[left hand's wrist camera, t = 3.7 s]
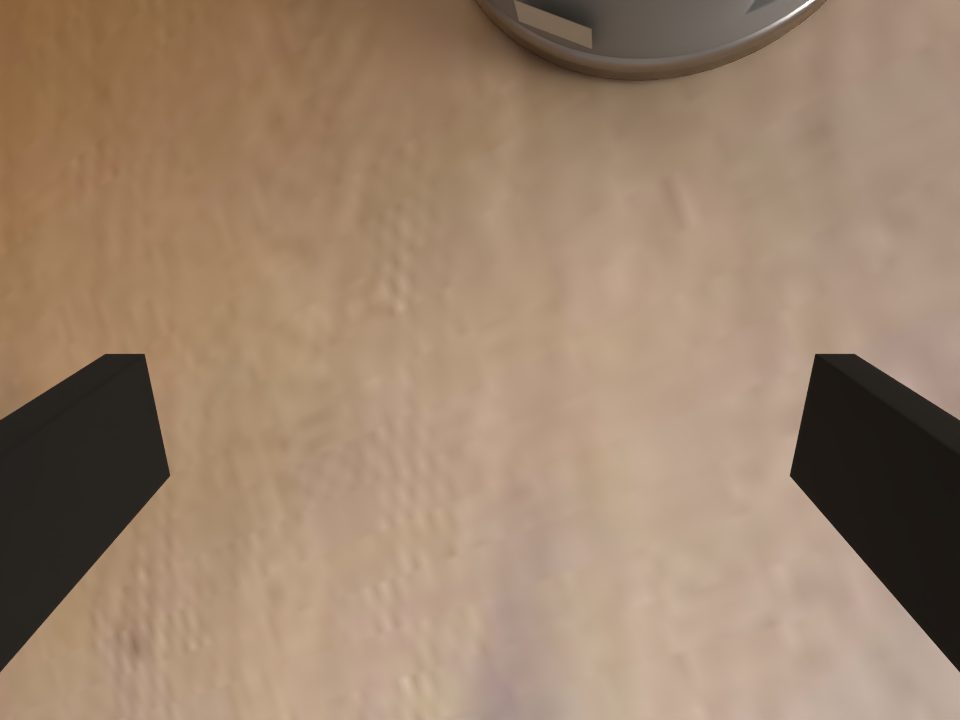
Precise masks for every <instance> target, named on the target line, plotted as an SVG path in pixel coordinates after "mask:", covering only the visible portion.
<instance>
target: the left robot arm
mask: <svg viewBox="0 0 960 720" xmlns="http://www.w3.org/2000/svg"><path fill="white" fill-rule="evenodd" d="M826 1H827V0H476V2H477V3H478V5H479V6H480V7H481V8H482V10H483V11H484V12H485V13H486V14H487V15H488V17H489V18H490V19H491V20H492V21H493V22H494V23H495V24H496V25H497V26H498V27H499V28H500V29H501V30H502V31H503V32H505V33H506V34H507V35H508V36H509V37H511V38H512V39H513V40H515V41H516V42H517V43H519V44H520V45H521V46H523V47H524V48H526V49H528V50H529V51H531V52H533V53H534V54H536V55H538V56H539V57H542V58H544V59H546V60H548V61H550V62H552V63H554V64H557V65H559V66H562V67H565V68H568V69H571V70H574V71H577V72H580V73H585V74H589V75H593V76H597V77H604V78H612V79H620V80H654V79H667V78H673V77H680V76H686V75H691V74H695V73H699V72H703V71H707V70H710V69H714V68H716V67H719V66H722V65H725V64H728V63H731V62H733V61H736V60H738V59H740V58H742V57H745V56H747V55H749V54H751V53H753V52H756V51H758V50H759V49H761V48H763V47H765V46H766V45H768V44H770V43H772V42H773V41H775V40H777V39H779V38H780V37H782V36H783V35H785V34H786V33H787V32H789V31H790V30H792V29H793V28H795V27H796V26H798V25H799V24H800V23H802V22H803V21H804V20H805V19H806V18H808V17H809V16H810V15H811V14H812V13H814V12H815V11H816V10H817V9H819V8H820V7H821V6H822V5H823V4H824V3H825V2H826ZM169 476H170V473H169V468H168V463H167V458H166V454H165V449H164V444H163V439H162V435H161V430H160V425H159V420H158V416H157V411H156V406H155V401H154V397H153V392H152V387H151V382H150V377H149V373H148V368H147V363H146V358H145V354H105V355H103V356H102V357H100V358H98V359H97V360H95V361H94V362H92V363H90V364H89V365H87V366H86V367H84V368H82V369H81V370H79V371H78V372H76V373H75V374H73V375H71V376H70V377H68V378H67V379H65V380H63V381H62V382H60V383H59V384H57V385H56V386H54V387H52V388H51V389H49V390H48V391H46V392H44V393H43V394H41V395H40V396H38V397H37V398H35V399H33V400H32V401H30V402H29V403H27V404H25V405H24V406H22V407H21V408H19V409H18V410H16V411H14V412H13V413H11V414H10V415H8V416H6V417H5V418H3V419H2V420H0V672H1V671H2V670H3V668H4V667H5V666H6V665H7V664H8V663H9V661H10V660H11V659H12V658H13V657H14V656H15V654H16V653H17V652H18V651H19V650H20V649H21V648H22V646H23V645H24V644H25V643H26V642H27V641H28V639H29V638H30V637H31V636H32V635H33V634H34V633H35V631H36V630H37V629H38V628H39V627H40V626H41V624H42V623H43V622H44V621H45V620H46V619H47V618H48V616H49V615H50V614H51V613H52V612H53V611H54V609H55V608H56V607H57V606H58V605H59V604H60V602H61V601H62V600H63V599H64V598H65V597H66V596H67V594H68V593H69V592H70V591H71V590H72V589H73V587H74V586H75V585H76V584H77V583H78V582H79V581H80V579H81V578H82V577H83V576H84V575H85V574H86V572H87V571H88V570H89V569H90V568H91V567H92V565H93V564H94V563H95V562H96V561H97V560H98V559H99V557H100V556H101V555H102V554H103V553H104V552H105V550H106V549H107V548H108V547H109V546H110V545H111V544H112V542H113V541H114V540H115V539H116V538H117V537H118V535H119V534H120V533H121V532H122V531H123V530H124V529H125V527H126V526H127V525H128V524H129V523H130V522H131V520H132V519H133V518H134V517H135V516H136V515H137V513H138V512H139V511H140V510H141V509H142V508H143V507H144V505H145V504H146V503H147V502H148V501H149V500H150V498H151V497H152V496H153V495H154V494H155V493H156V492H157V490H158V489H159V488H160V487H161V486H162V485H163V483H164V482H165V481H166V480H167V479H168V478H169ZM790 476H791V478H792V479H793V480H794V481H795V482H796V483H797V485H798V486H799V487H800V488H801V489H802V490H803V492H804V493H805V494H806V495H807V496H808V497H809V498H810V500H811V501H812V502H813V503H814V504H815V505H816V507H817V508H818V509H819V510H820V511H821V512H822V513H823V515H824V516H825V517H826V518H827V519H828V520H829V522H830V523H831V524H832V525H833V526H834V527H835V529H836V530H837V531H838V532H839V533H840V534H841V535H842V537H843V538H844V539H845V540H846V541H847V542H848V544H849V545H850V546H851V547H852V548H853V549H854V550H855V552H856V553H857V554H858V555H859V556H860V557H861V559H862V560H863V561H864V562H865V563H866V564H867V565H868V567H869V568H870V569H871V570H872V571H873V572H874V574H875V575H876V576H877V577H878V578H879V579H880V581H881V582H882V583H883V584H884V585H885V586H886V587H887V589H888V590H889V591H890V592H891V593H892V594H893V596H894V597H895V598H896V599H897V600H898V601H899V602H900V604H901V605H902V606H903V607H904V608H905V609H906V611H907V612H908V613H909V614H910V615H911V616H912V618H913V619H914V620H915V621H916V622H917V623H918V624H919V626H920V627H921V628H922V629H923V630H924V631H925V633H926V634H927V635H928V636H929V637H930V638H931V639H932V641H933V642H934V643H935V644H936V645H937V646H938V648H939V649H940V650H941V651H942V652H943V653H944V654H945V656H946V657H947V658H948V659H949V660H950V661H951V663H952V664H953V665H954V666H955V667H956V668H957V670H958V671H959V672H960V420H958V419H957V418H955V417H954V416H952V415H950V414H949V413H947V412H946V411H944V410H942V409H941V408H939V407H938V406H936V405H935V404H933V403H931V402H930V401H928V400H927V399H925V398H923V397H922V396H920V395H919V394H917V393H916V392H914V391H912V390H911V389H909V388H908V387H906V386H904V385H903V384H901V383H900V382H898V381H897V380H895V379H893V378H892V377H890V376H889V375H887V374H885V373H884V372H882V371H881V370H879V369H877V368H876V367H874V366H873V365H871V364H870V363H868V362H866V361H865V360H863V359H862V358H860V357H858V356H857V355H855V354H815V358H814V363H813V368H812V373H811V377H810V382H809V387H808V392H807V396H806V401H805V406H804V411H803V416H802V420H801V425H800V430H799V435H798V439H797V444H796V449H795V454H794V458H793V463H792V468H791V473H790Z"/></svg>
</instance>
